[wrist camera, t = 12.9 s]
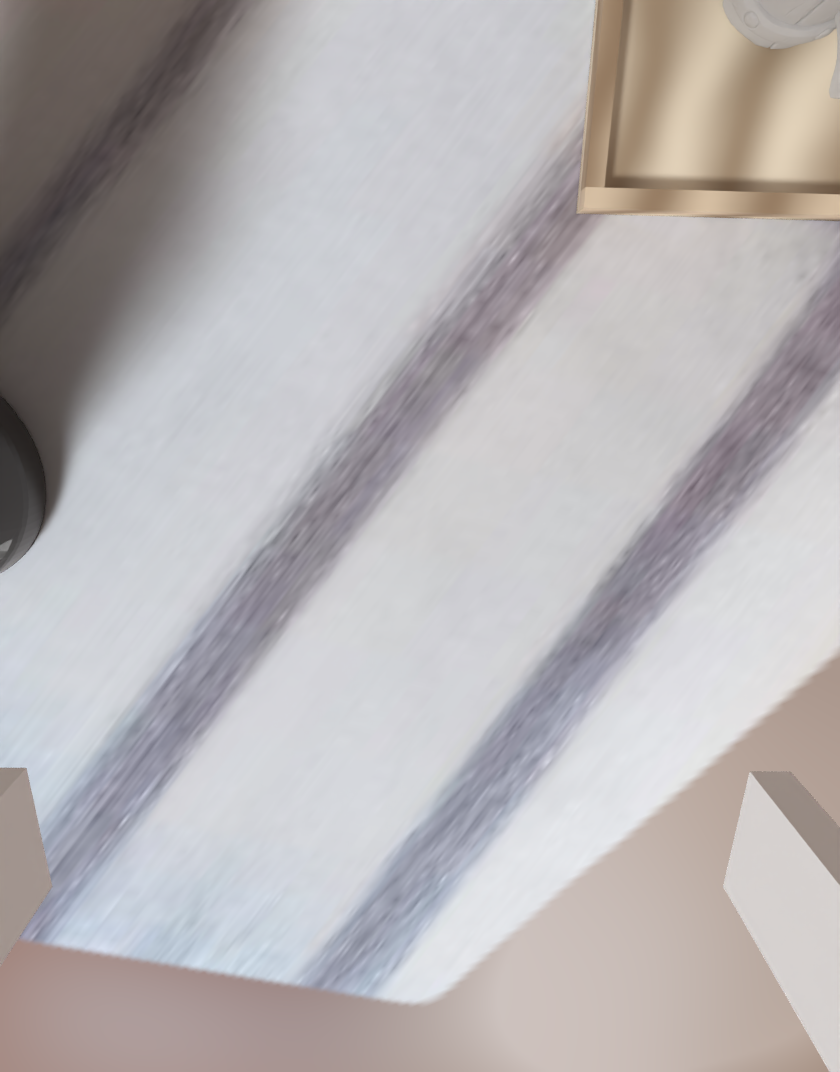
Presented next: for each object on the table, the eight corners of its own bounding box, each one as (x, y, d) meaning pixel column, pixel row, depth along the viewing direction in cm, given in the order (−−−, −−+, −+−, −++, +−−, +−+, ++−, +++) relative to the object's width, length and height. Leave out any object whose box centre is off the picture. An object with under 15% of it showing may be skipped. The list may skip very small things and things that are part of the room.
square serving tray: (576, 213, 34) (583, 208, 32) (618, -244, 28) (629, -276, 27) (907, 222, 34) (929, 217, 33) (1017, -226, 28) (1049, -255, 27)
